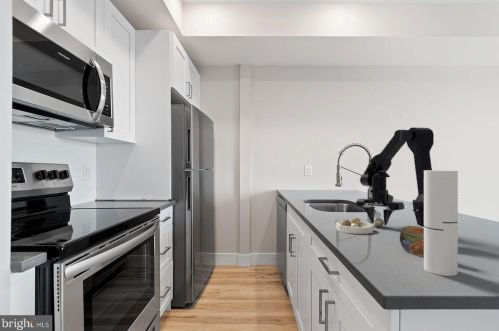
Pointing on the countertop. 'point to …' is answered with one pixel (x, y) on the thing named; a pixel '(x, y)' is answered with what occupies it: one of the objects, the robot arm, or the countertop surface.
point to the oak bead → (356, 221)
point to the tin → (413, 240)
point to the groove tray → (355, 228)
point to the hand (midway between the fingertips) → (379, 224)
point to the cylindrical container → (441, 222)
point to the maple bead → (379, 222)
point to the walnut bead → (346, 223)
